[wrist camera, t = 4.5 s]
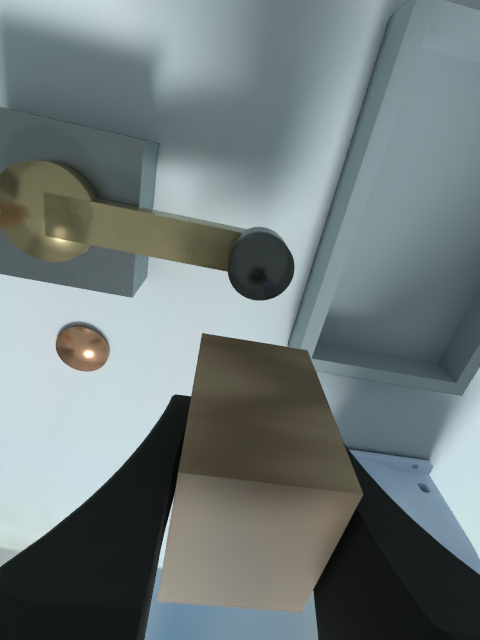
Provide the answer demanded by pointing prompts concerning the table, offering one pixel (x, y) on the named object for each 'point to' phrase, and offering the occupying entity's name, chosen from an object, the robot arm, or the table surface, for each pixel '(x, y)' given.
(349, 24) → the table surface
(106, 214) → the crank
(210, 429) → the block
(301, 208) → the table surface
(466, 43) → the tray
